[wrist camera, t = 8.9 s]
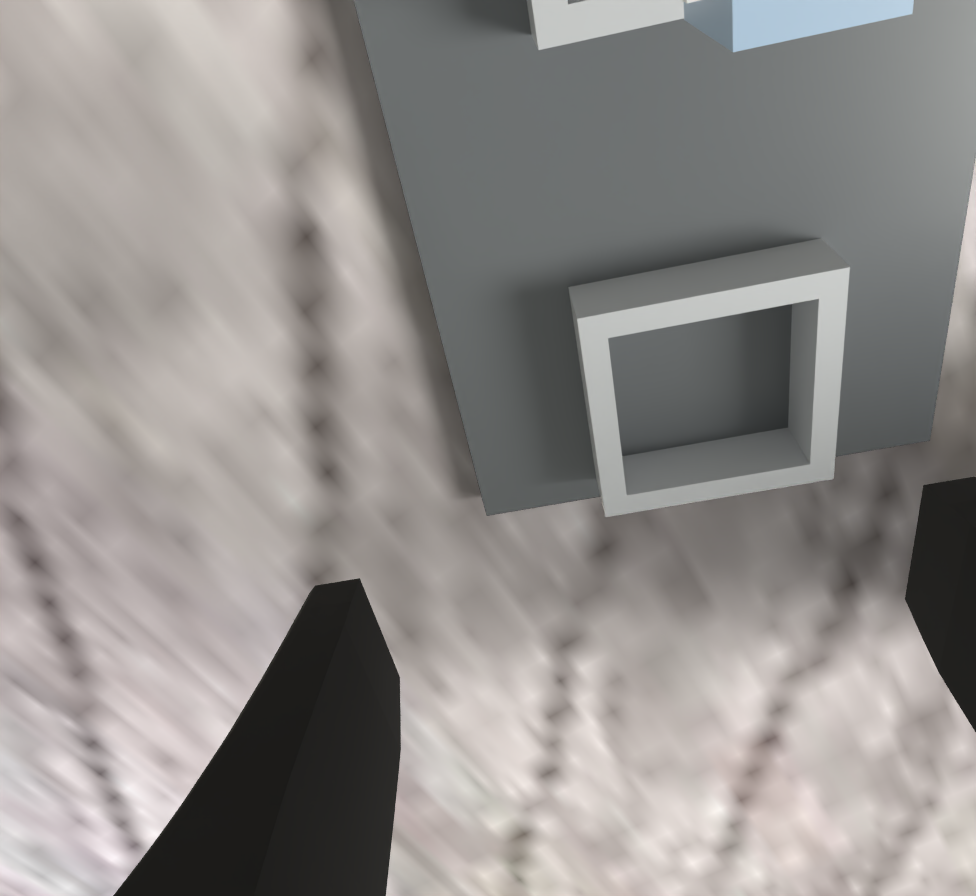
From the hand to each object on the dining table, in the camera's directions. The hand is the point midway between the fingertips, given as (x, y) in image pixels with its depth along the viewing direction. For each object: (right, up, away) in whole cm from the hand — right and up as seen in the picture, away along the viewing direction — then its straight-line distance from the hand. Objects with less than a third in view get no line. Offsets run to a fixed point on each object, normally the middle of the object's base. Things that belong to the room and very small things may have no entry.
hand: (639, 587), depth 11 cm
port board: (+2, +9, +7) cm, 11 cm away
